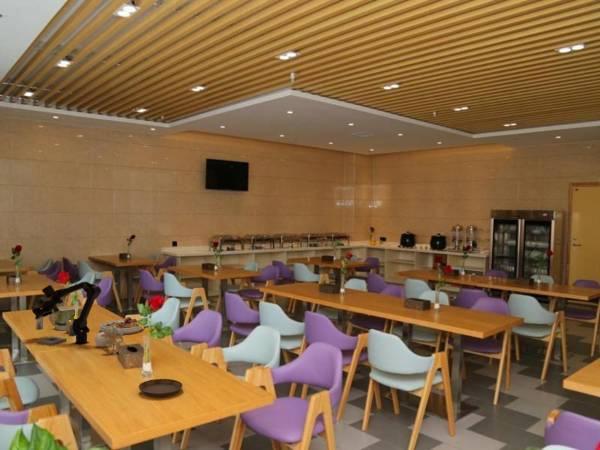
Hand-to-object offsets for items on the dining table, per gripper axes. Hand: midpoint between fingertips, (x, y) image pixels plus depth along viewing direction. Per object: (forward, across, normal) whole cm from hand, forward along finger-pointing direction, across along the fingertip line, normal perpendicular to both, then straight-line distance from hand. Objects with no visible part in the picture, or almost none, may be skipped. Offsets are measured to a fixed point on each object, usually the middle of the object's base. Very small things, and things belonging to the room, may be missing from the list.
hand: (38, 318), depth 338 cm
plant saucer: (-80, +62, +100) cm, 142 cm away
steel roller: (+4, 0, +6) cm, 7 cm away
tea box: (+11, -31, +8) cm, 34 cm away
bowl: (-16, -40, +36) cm, 56 cm away
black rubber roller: (-1, -16, +20) cm, 26 cm away
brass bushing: (+3, -20, +16) cm, 25 cm away
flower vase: (-32, +8, +52) cm, 61 cm away
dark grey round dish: (-2, +6, +21) cm, 22 cm away
